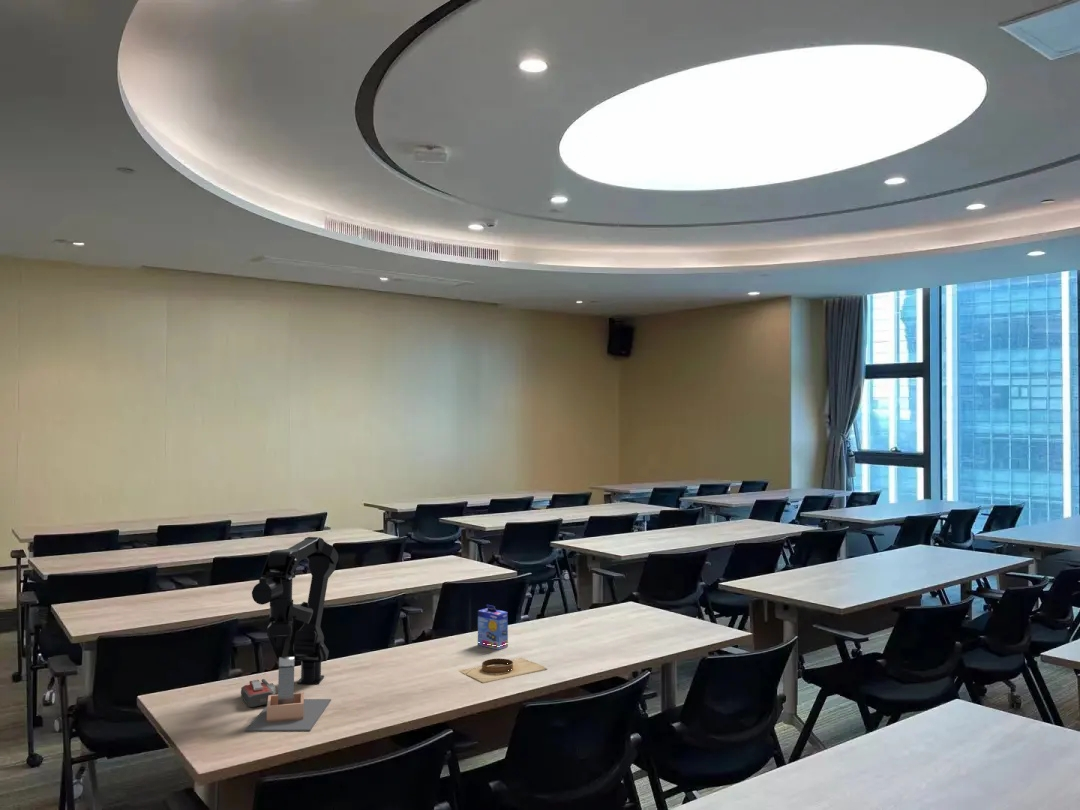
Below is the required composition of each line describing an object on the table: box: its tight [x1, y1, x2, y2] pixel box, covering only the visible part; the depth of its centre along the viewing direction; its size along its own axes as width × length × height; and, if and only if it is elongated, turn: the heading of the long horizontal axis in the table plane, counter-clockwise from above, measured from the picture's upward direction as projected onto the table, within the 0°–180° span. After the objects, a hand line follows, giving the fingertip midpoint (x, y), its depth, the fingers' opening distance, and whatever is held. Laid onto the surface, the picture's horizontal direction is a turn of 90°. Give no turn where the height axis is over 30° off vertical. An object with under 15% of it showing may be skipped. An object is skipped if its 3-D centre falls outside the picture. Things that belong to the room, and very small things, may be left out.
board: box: [458, 657, 548, 684], centre depth 242 cm, size 25×15×3 cm, turn 127°
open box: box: [266, 691, 305, 723], centre depth 201 cm, size 9×9×4 cm
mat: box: [244, 698, 332, 732], centre depth 202 cm, size 22×16×1 cm
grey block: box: [277, 655, 295, 705], centre depth 202 cm, size 3×4×14 cm
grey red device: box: [240, 678, 277, 708], centre depth 216 cm, size 9×4×20 cm
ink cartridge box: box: [477, 604, 509, 651], centre depth 270 cm, size 10×6×14 cm, turn 54°
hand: (279, 654), depth 213 cm, fingers open, 9 cm apart
